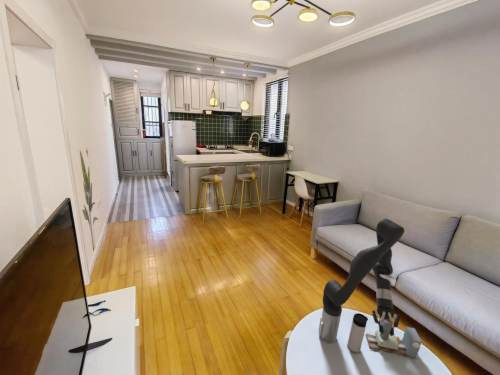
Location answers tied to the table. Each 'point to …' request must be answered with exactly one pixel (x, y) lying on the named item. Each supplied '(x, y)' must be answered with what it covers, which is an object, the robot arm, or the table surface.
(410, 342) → the end cabinet
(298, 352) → the table surface
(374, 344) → the track
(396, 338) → the button
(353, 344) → the travel mug
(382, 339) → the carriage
